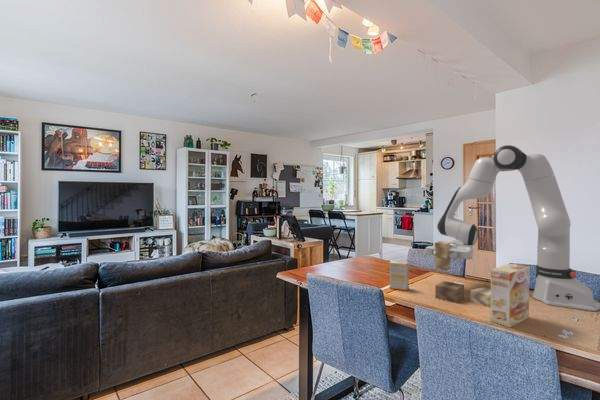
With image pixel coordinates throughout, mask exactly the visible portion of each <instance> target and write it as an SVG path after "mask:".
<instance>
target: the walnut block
mask: <svg viewBox="0 0 600 400" xmlns="http://www.w3.org/2000/svg"><path fill="white" fill-rule="evenodd" d="M436 298H438V299H437V300H441V299H442V300H441V301H445V300H447V301H446V302H450V301H452V302H451V303H454V302H456V304H458V303H459V302H461V299H462V298H463V299H464V298H465V284H462V283H457V282H450V281H446V280H443V281H441V282H438V283H437V284H435V299H436ZM463 299H462V300H463ZM458 301H459V302H458ZM457 302H458V303H457Z"/></svg>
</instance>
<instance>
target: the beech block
mask: <svg viewBox="0 0 600 400" xmlns="http://www.w3.org/2000/svg"><path fill="white" fill-rule="evenodd" d="M472 301H473V303H475V302H476V303H475V304H478V303H479V304H478V305H481V304H482V305H481V306H484V307H488V308H489V307H490V308H491V288H487V287H484V286H482V287H477V288H473V289H470V302H472Z"/></svg>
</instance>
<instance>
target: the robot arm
mask: <svg viewBox="0 0 600 400" xmlns="http://www.w3.org/2000/svg"><path fill="white" fill-rule="evenodd" d="M516 170H517V171H518V172H519V173H520V174H521V177H522V179H523V182H524V186H525V188H526V191H527V195H528V198H529V201H530V204H531V208H532V212H533V216H534V220H535V223H536V226H537V229H538V230H537V247H536V248H537V251H536V252H537V254H536V256H537V260H536V266H535V278H536V279H535V284H534V285H535V286H534V289H533V292H532V295H531V296H532V298H534V299H535V300H538V301H539V302H542V303H544V304H546V305H549V306H556V307H562V308H563V307H564V308H570V309H576V310H582V311H583V310H584V311H591V312H596V311H599V310H600V302H599V301H598V300H596V299H594V294H593V292H592V290H591V289H590V287H589V286H587V285H586V284H584V283H583V282H581V281H580V280H579V279H578V278H576V277H577V272H576V269H572V268H570V257H571V255H570V254H571V247H570V243H571V242H570V241H571V237H570V236H571V233H570V232H571V219H570V216H569V214H568V211H567V208H566V204H565V201H564V199H563V197H562V193H561V190H560V186H559V184H558V181H557V178H556V175H555V172H554V170H553V168H552V165H551V164H550V161H548V159H547V157H546V156H545V155H543V154H541V153H534V154H533V153H532V154H526V153H525V152H523V151H522V150H521V149H520V148H518V147H517V146H514V145H511V144H509V145H508V144H506V145H502V146H501V147H498V148H497V149H496V150H495V152H494V153H493V156H492V157H479V158H477V160H476V161H475V163H474V164H473V166H472V168H471V170H470V173H469V175H468V178H467V180H466V182H465V184H463V186H459V187H458V188H457V189H456V190H455V192H454V194H453V196H452V197H451V199H450V201H449V203H448V205H447V206H446V209H445V211H444V213H443V214H442V216H441V217H440V219H439V220H438V222H437V230H438V232H439V233H440V234H441V235H442V236H446V237H450V238H453V240H451V241H450V240H449V242H450V253H448V257H449V258H451V260H452V261H454V260H469V261H470V260H472V259H473V258H474V249H473V246H474V245H475V244H476V242H477V241H478V237H479V230H478V228H477V225H476V224H474V223H472V222H468V221H465V220H461V219H459V218H455V217H454V216H455V215H456V212H457V210H458V208H459V207H460V205H461V203H462V202H464V201H467V200H475V199H476V200H477V199H478V200H479V199H482V198H485V197H487V196H489V194H490V193H491V191H492V190H493V187H494V184H495V180H496V177H497V175H498V174H499V173H500V172H511V171H516ZM425 254H426V255H429V256H434V257H435V245H429V246H426V247H425Z"/></svg>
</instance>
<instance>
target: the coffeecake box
mask: <svg viewBox="0 0 600 400" xmlns="http://www.w3.org/2000/svg"><path fill="white" fill-rule="evenodd" d="M530 272H531V271H530V266H526V265H523V264H522V265H521V264H514V263H508V264H505V265H501V266H498V267H494V268H491V269H490V289H491V306H490V311H489V312H490V314H489V315H490V316H489V317H490V318H489V319H490V320H489V321H490V322H492V323H495V324H497V323H498V325H500V324H501V325H500V326H503V325H504V326H503V327H507V328H509V327H510V328H512V327H514V326H517V325H518V324H520V323H521V322H524V321H525V320H527V319H530V317H529V315H530V313H529V312H530V309H529V308H530V303H529V302H530Z"/></svg>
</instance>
